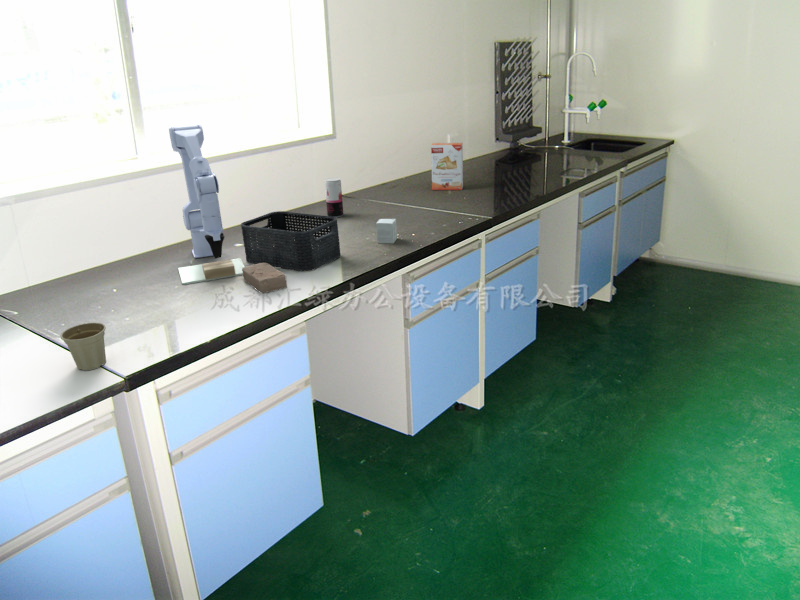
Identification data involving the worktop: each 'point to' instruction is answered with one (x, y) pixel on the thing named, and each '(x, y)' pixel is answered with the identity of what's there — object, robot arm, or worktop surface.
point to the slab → (218, 269)
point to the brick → (264, 277)
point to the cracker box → (447, 166)
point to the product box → (386, 231)
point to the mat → (196, 273)
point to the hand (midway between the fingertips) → (217, 257)
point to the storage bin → (292, 241)
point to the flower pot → (86, 345)
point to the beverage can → (334, 197)
